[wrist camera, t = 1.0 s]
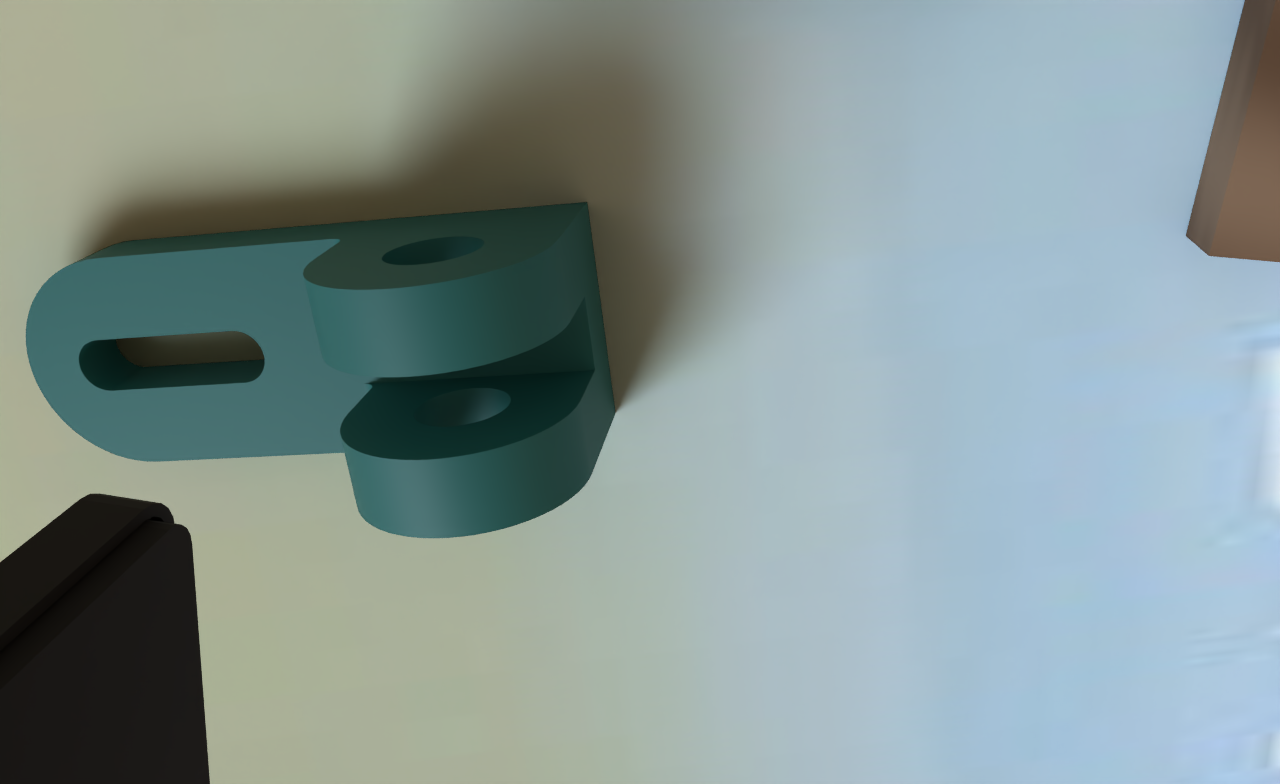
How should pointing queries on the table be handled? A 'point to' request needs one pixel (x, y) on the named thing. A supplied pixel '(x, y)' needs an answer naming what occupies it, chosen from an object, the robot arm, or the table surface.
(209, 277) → the bracket
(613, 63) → the table surface
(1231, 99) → the panel
